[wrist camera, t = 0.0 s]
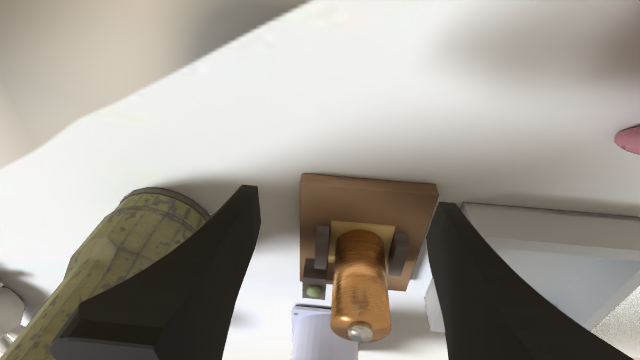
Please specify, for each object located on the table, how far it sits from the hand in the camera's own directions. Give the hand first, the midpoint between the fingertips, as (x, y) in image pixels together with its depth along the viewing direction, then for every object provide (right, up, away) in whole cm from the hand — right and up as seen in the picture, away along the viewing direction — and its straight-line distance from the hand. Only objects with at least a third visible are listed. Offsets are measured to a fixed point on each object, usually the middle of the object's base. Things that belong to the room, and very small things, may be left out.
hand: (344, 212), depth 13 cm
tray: (+16, -6, +16) cm, 23 cm away
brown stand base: (+2, -3, +15) cm, 16 cm away
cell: (+2, -4, +14) cm, 15 cm away
